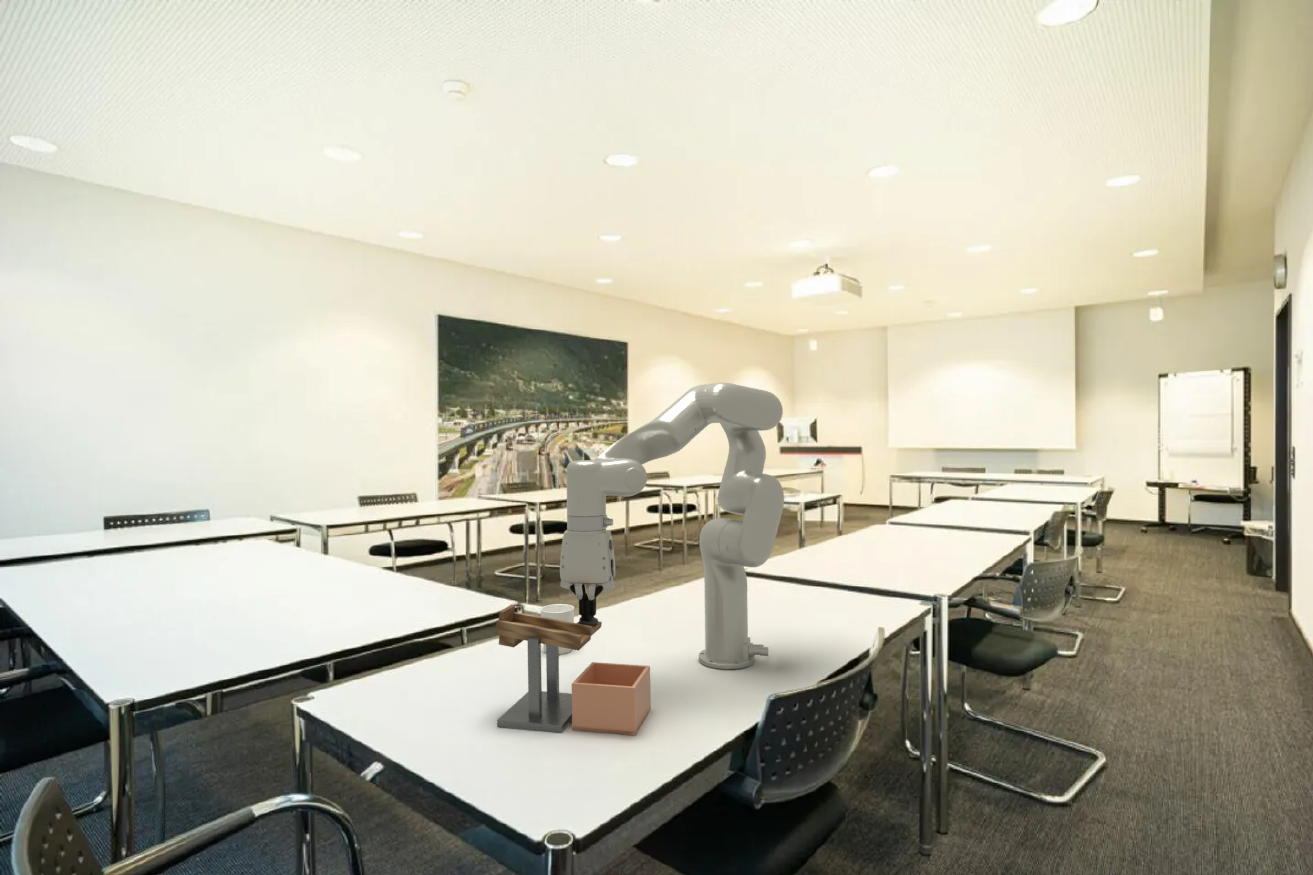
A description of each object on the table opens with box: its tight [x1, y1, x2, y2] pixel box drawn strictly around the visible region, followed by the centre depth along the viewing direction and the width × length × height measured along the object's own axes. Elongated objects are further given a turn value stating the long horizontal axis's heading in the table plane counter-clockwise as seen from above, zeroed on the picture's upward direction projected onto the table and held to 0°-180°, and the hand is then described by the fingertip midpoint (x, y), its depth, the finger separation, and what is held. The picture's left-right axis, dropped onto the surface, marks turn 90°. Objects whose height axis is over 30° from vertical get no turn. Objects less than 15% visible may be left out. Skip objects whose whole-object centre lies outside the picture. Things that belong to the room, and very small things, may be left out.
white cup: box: [540, 603, 575, 655], centre depth 162 cm, size 8×8×10 cm
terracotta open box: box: [571, 661, 652, 736], centre depth 122 cm, size 11×11×8 cm
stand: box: [496, 637, 572, 733], centre depth 125 cm, size 12×14×15 cm
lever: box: [494, 604, 603, 651], centre depth 129 cm, size 16×15×6 cm
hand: (587, 618), depth 132 cm, fingers closed
